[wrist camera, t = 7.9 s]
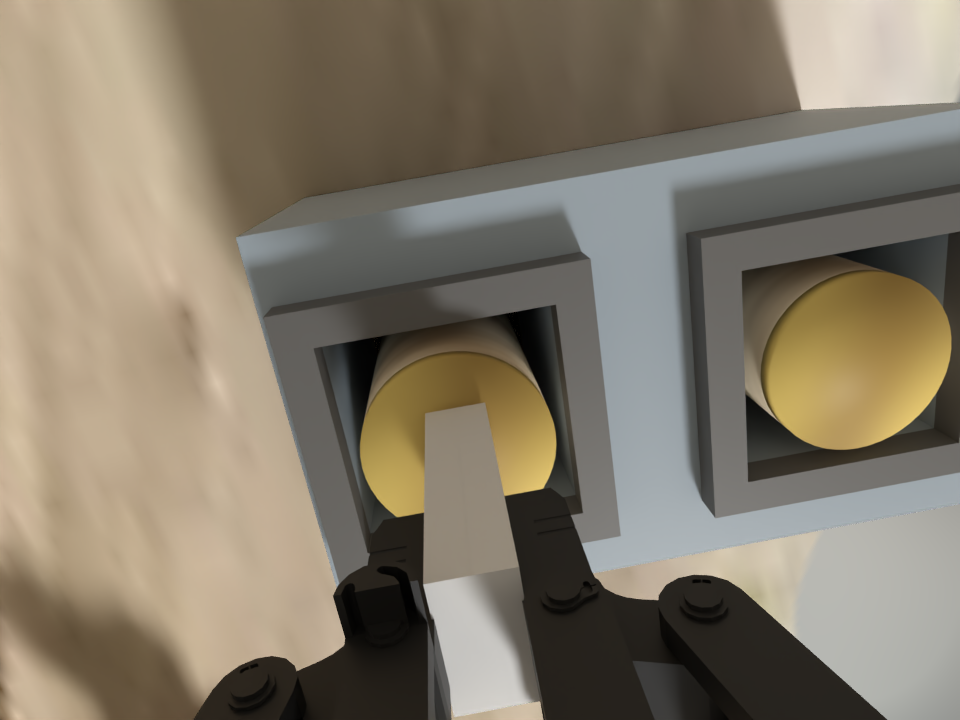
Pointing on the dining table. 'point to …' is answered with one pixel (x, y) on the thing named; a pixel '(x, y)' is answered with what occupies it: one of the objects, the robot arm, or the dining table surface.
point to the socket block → (627, 319)
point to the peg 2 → (841, 349)
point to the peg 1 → (450, 384)
